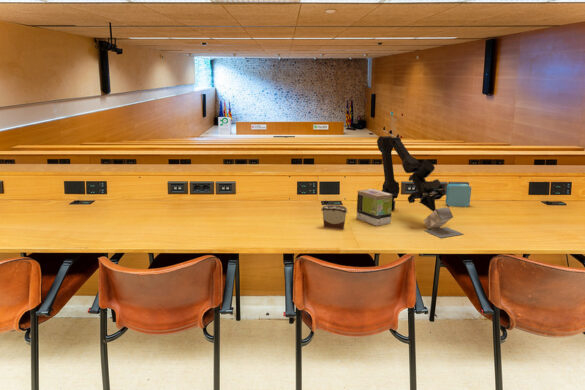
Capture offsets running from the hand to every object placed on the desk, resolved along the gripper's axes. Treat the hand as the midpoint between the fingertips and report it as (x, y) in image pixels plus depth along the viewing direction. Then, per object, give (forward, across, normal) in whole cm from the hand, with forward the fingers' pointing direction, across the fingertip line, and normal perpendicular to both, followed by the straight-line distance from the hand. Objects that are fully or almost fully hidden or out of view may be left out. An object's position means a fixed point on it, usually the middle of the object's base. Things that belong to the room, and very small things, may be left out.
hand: (434, 211), depth 209 cm
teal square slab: (-13, +40, +25) cm, 49 cm away
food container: (-8, -41, +20) cm, 47 cm away
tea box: (-9, -19, +21) cm, 30 cm away
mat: (+11, 0, +1) cm, 11 cm away
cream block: (+4, 0, +6) cm, 7 cm away
